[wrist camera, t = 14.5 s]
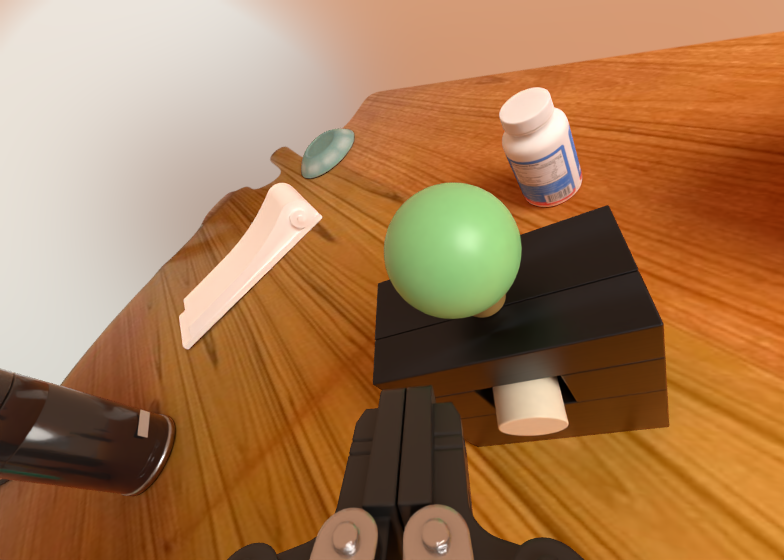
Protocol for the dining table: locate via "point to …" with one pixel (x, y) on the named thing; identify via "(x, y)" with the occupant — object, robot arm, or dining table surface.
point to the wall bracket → (248, 260)
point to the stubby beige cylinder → (530, 407)
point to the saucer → (326, 152)
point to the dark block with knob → (518, 315)
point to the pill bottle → (540, 148)
